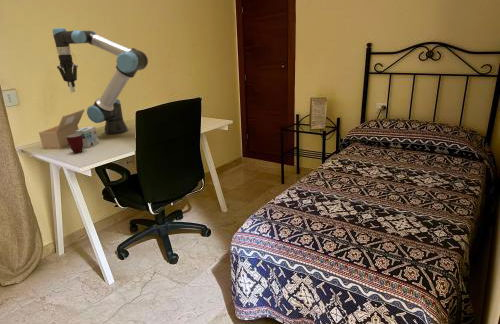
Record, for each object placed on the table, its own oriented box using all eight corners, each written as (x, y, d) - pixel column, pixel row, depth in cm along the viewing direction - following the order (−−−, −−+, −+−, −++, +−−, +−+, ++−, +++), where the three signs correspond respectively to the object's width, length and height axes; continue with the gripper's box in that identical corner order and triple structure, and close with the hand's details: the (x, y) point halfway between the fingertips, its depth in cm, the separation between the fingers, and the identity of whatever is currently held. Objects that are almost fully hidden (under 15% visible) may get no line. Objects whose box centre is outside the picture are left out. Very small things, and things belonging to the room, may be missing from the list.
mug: (73, 149, 207) (69, 133, 203) (87, 148, 208) (84, 132, 205) (68, 154, 197) (64, 138, 194) (83, 153, 199) (79, 136, 195)
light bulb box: (88, 148, 208) (84, 130, 205) (78, 147, 210) (74, 130, 206) (99, 142, 218) (95, 126, 214) (89, 142, 220) (86, 126, 216)
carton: (80, 139, 229) (77, 124, 225) (60, 148, 210) (56, 132, 207) (64, 139, 231) (61, 124, 227) (42, 148, 212) (38, 132, 209)
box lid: (77, 123, 225) (78, 124, 225) (56, 131, 207) (57, 132, 207) (83, 109, 220) (84, 109, 220) (62, 115, 202) (63, 116, 202)
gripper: (51, 55, 214) (60, 93, 222) (71, 54, 213) (79, 92, 221) (58, 54, 221) (66, 91, 229) (77, 53, 220) (85, 90, 228)
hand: (73, 92), depth 225 cm, fingers closed
